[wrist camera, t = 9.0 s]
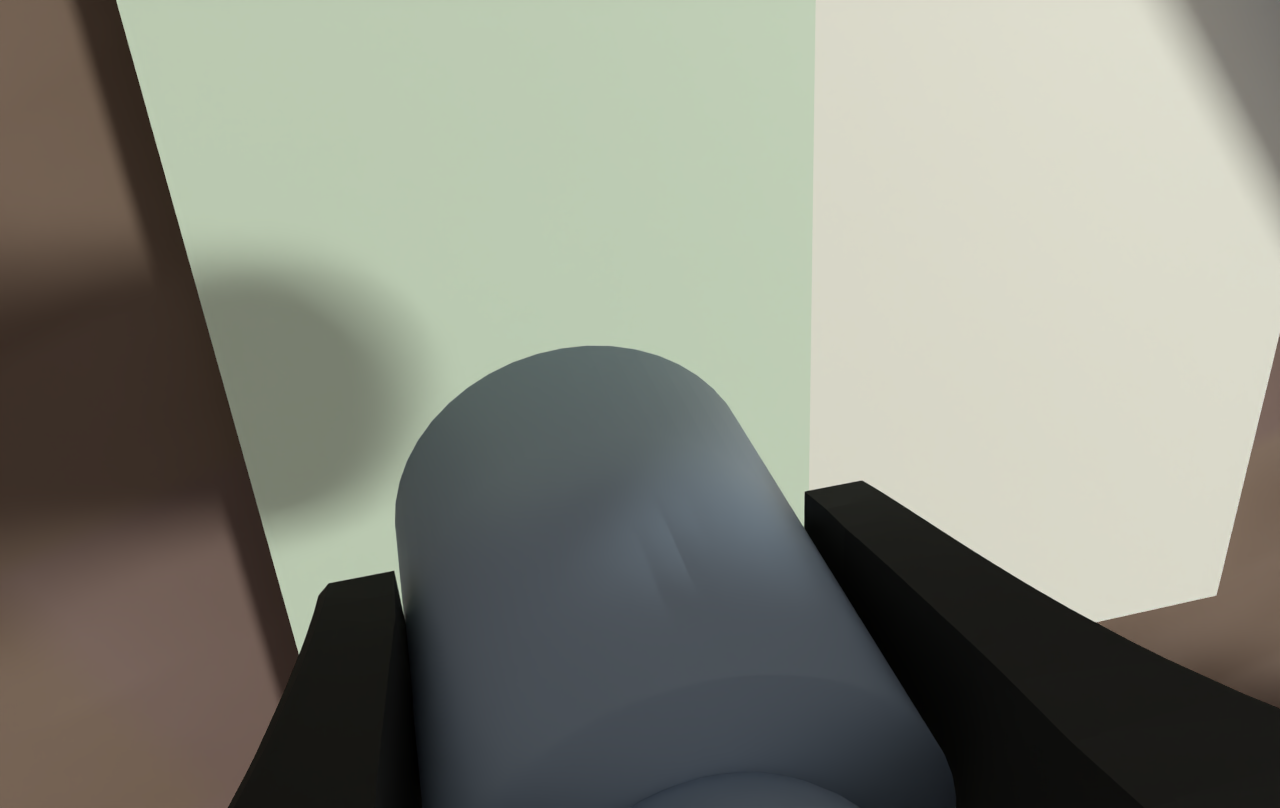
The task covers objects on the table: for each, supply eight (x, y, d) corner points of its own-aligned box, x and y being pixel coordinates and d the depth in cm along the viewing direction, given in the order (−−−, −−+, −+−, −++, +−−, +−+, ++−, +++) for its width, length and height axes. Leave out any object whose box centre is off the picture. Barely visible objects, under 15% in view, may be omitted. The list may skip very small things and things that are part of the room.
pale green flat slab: (1398, -284, 15) (1428, -285, 14) (1199, 578, 22) (1216, 595, 21) (75, -179, 12) (67, -176, 12) (336, 766, 19) (336, 790, 19)
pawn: (749, 317, 12) (1216, 940, 6) (753, 610, 14) (1105, 1310, 8) (363, 380, 11) (416, 1165, 5) (426, 680, 13) (520, 1507, 7)
